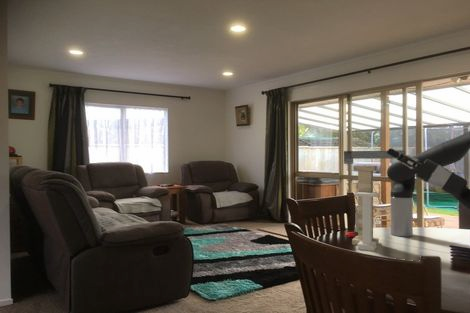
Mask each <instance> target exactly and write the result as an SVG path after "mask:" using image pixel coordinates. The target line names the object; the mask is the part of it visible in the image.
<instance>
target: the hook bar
mask: <svg viewBox="0 0 470 313" xmlns="http://www.w3.org/2000/svg"><path fill="white" fill-rule="evenodd" d="M394 150H395V151H397V152H398V153H402V154H403V155H406V150H405V149H404V150H399V149H398V150H396V149H394ZM387 152H388V150H344V151H343V165H344V164H346V165H347V164H349V165H350V164H351V165H352V164H354V160H357V159H358V160H359V159H361V160H362V159H364V160H368V159H370V160H373V159H374V160H375V159H376V160H377V159H378V160H379V159H396V158H397V157H396V158H395V157H393V156H391V155H389V154H387ZM404 158H405V157H402V159H404ZM396 160H397V159H396Z"/></svg>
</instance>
